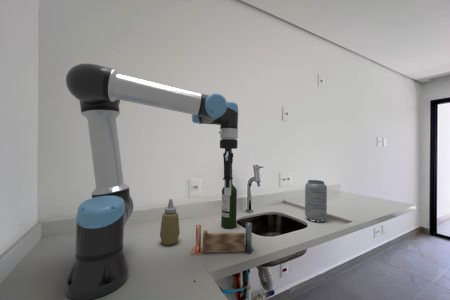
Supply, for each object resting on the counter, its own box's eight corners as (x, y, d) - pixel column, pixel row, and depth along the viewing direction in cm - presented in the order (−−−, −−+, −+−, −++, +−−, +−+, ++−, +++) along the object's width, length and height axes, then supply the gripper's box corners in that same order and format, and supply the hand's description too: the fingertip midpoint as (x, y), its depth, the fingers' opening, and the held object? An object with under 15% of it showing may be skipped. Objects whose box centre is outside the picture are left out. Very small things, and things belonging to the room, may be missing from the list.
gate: (244, 249, 76) (244, 229, 76) (244, 251, 74) (245, 231, 74) (202, 249, 74) (203, 230, 75) (202, 251, 73) (203, 231, 73)
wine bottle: (218, 226, 101) (219, 168, 102) (228, 222, 107) (229, 168, 108) (229, 230, 96) (230, 169, 97) (239, 226, 102) (240, 169, 103)
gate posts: (251, 246, 80) (252, 219, 80) (254, 254, 73) (255, 225, 73) (193, 245, 79) (193, 218, 79) (190, 254, 72) (191, 224, 72)
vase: (330, 221, 113) (330, 181, 114) (319, 224, 107) (319, 182, 107) (311, 215, 123) (312, 179, 123) (300, 218, 116) (301, 180, 117)
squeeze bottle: (173, 236, 87) (174, 196, 88) (183, 242, 82) (184, 199, 82) (156, 242, 82) (157, 199, 82) (165, 249, 76) (166, 202, 76)
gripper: (222, 140, 90) (221, 191, 89) (217, 137, 77) (216, 197, 76) (238, 140, 89) (237, 192, 88) (236, 138, 76) (235, 198, 75)
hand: (227, 194), depth 82 cm, fingers closed
